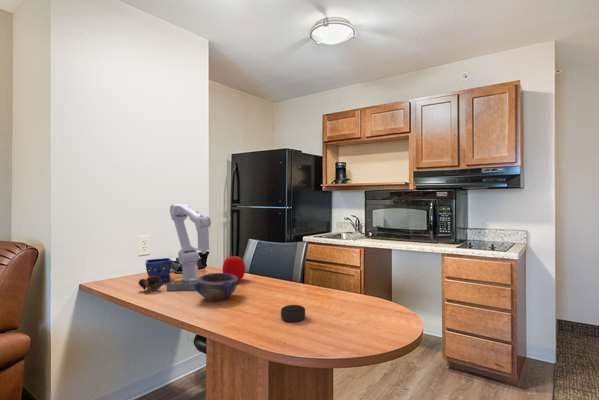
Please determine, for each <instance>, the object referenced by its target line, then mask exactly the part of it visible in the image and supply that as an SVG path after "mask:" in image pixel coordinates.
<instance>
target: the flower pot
mask: <svg viewBox="0 0 599 400" xmlns="http://www.w3.org/2000/svg"><path fill="white" fill-rule="evenodd" d="M145 270H146V273H147V277H150V276H158V277H160V278H161V280H162V283H166V282H170V280H171V275H170V274H171V270H172V259H171V257H166V258H165V257H162V258H153V259H152V258H150V259H145ZM159 282H160V280H159V279H158V280H157V281H156V284H158V283H159Z"/></svg>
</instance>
